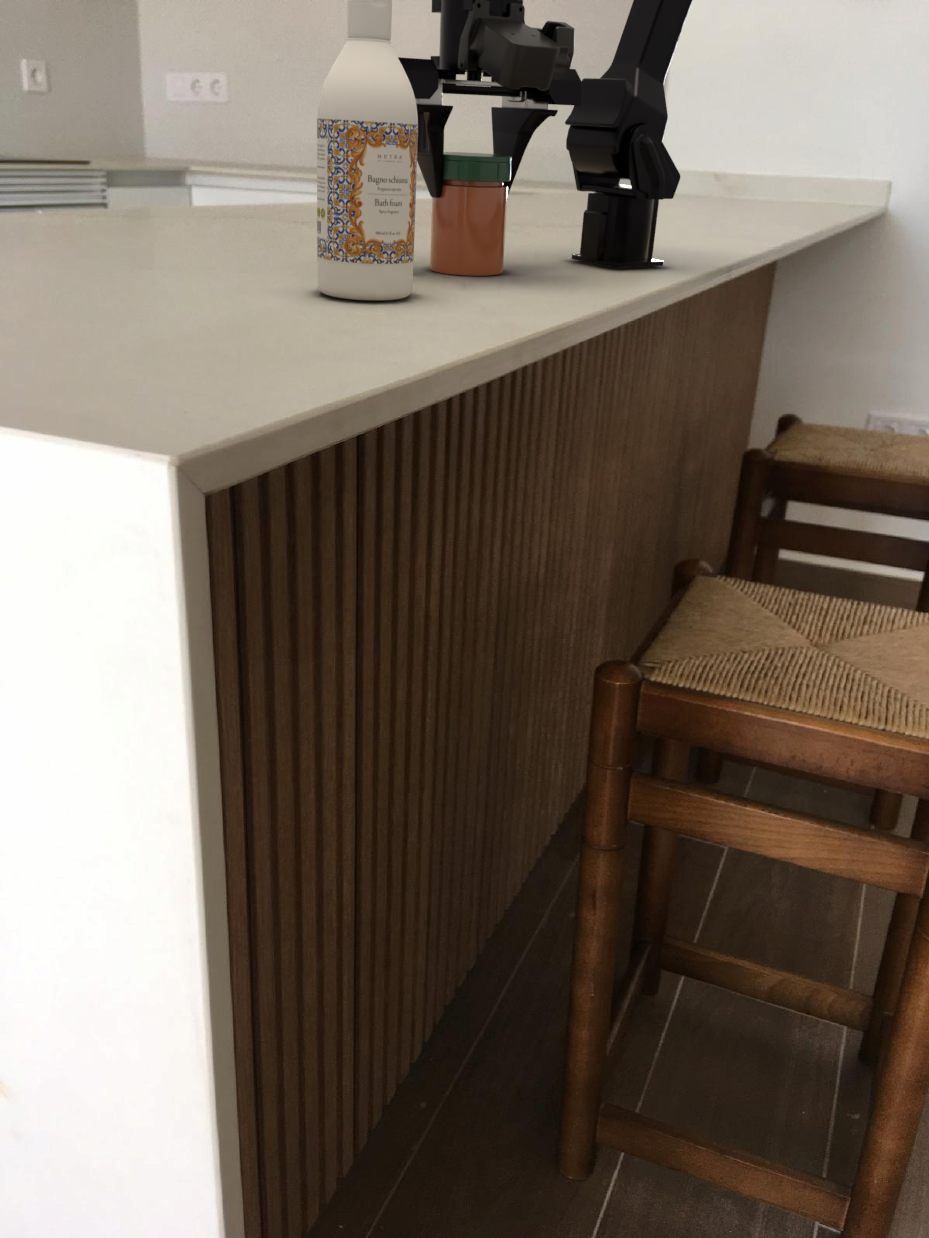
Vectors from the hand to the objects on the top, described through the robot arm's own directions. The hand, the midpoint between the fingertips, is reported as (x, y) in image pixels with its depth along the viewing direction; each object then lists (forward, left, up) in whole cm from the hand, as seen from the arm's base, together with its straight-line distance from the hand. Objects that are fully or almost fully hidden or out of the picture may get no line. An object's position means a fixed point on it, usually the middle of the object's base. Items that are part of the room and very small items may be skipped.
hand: (469, 197), depth 91 cm
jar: (0, 0, -6) cm, 6 cm away
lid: (0, 0, +3) cm, 3 cm away
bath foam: (+15, +9, -6) cm, 19 cm away
